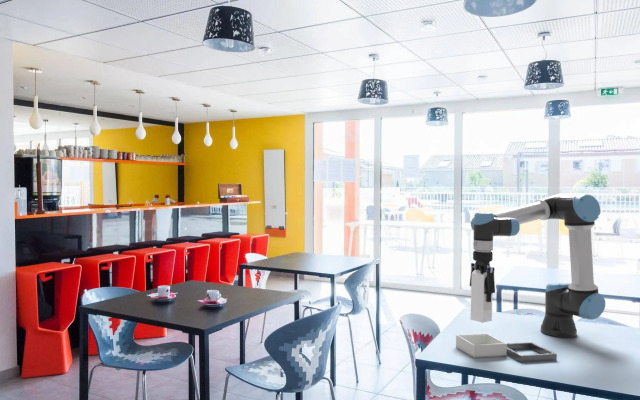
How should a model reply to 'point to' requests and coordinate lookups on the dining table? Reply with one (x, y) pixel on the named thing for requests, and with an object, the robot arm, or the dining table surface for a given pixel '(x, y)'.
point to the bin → (481, 345)
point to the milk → (479, 298)
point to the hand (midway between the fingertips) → (481, 307)
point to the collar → (543, 356)
